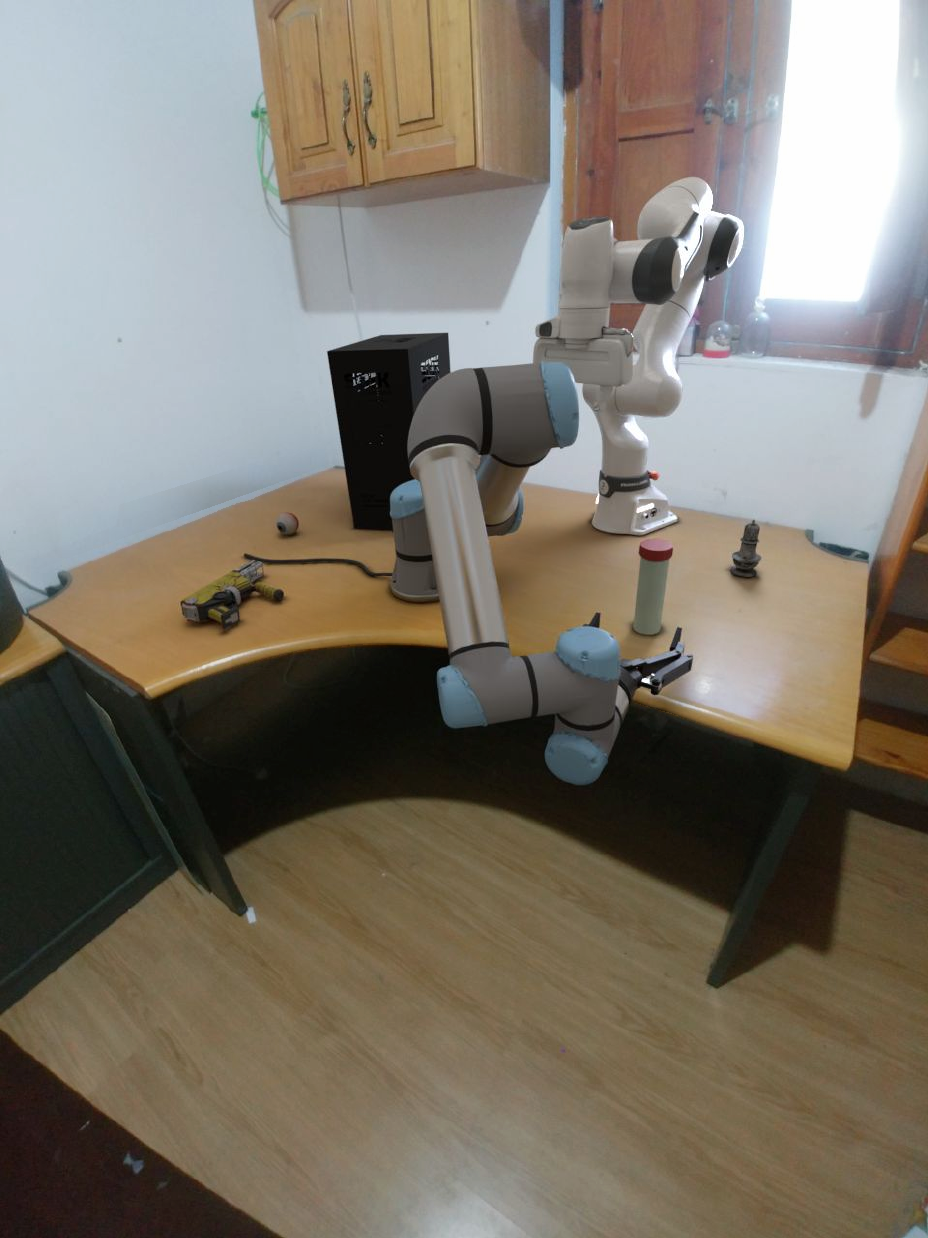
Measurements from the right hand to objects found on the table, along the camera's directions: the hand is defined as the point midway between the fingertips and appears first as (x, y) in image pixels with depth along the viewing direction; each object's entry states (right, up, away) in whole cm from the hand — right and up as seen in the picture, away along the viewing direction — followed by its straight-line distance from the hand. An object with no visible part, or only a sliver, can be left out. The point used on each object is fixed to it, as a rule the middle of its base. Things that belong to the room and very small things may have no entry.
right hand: (578, 408), depth 113 cm
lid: (+12, -27, -8) cm, 31 cm away
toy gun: (-69, -36, +18) cm, 80 cm away
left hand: (+8, -41, -10) cm, 43 cm away
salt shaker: (+40, -29, +19) cm, 53 cm away
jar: (+13, -41, +1) cm, 43 cm away
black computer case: (-38, -6, +67) cm, 77 cm away
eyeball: (-69, -17, +52) cm, 88 cm away
